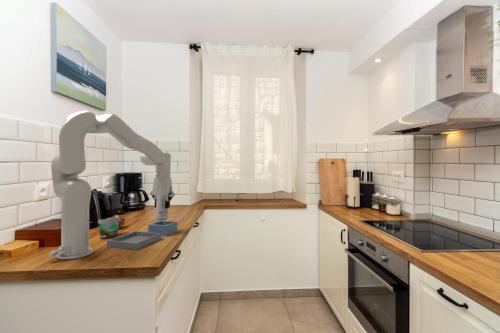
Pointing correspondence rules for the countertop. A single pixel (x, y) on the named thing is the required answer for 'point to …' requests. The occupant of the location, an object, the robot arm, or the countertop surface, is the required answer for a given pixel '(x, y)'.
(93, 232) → the countertop surface
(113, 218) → the food container
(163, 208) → the energy drink can
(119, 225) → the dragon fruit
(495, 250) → the countertop surface
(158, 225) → the blue square box
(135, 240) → the tray
